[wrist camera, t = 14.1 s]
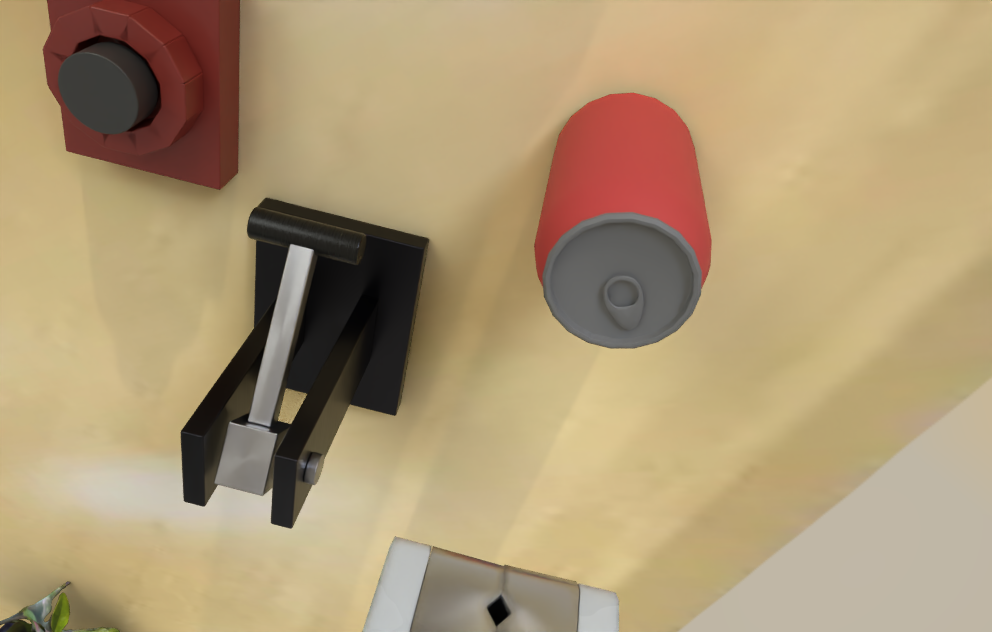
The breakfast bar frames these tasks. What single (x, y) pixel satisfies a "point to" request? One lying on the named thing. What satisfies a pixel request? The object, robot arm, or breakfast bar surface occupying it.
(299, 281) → the lever
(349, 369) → the bracket
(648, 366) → the breakfast bar surface
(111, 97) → the button
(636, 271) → the beer can
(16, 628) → the passion flower
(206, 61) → the button box
